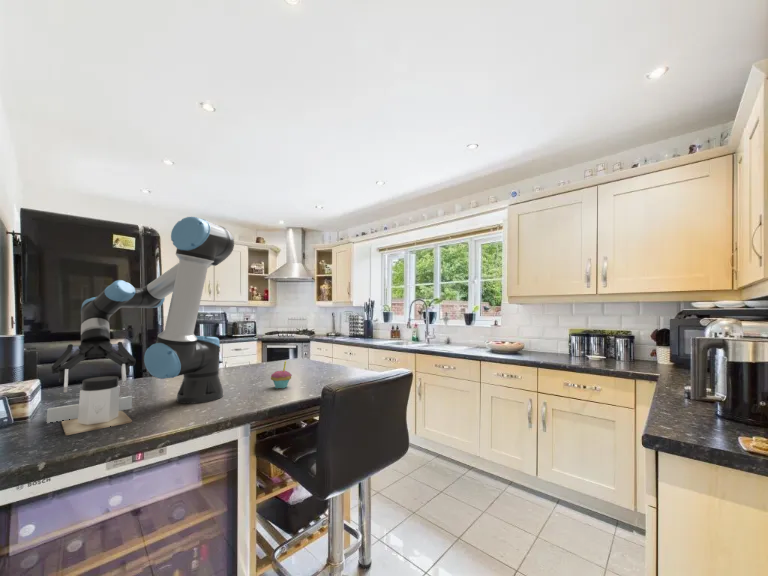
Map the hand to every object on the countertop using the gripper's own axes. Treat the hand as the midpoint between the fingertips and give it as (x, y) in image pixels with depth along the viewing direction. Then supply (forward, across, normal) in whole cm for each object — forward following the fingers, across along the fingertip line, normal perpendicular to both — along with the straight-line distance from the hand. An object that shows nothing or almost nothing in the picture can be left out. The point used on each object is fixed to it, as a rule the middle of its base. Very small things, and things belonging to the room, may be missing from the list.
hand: (96, 386), depth 101 cm
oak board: (+11, 0, -3) cm, 11 cm away
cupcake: (+8, -60, -6) cm, 61 cm away
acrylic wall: (+4, 0, -10) cm, 11 cm away
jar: (+11, 0, -2) cm, 11 cm away
